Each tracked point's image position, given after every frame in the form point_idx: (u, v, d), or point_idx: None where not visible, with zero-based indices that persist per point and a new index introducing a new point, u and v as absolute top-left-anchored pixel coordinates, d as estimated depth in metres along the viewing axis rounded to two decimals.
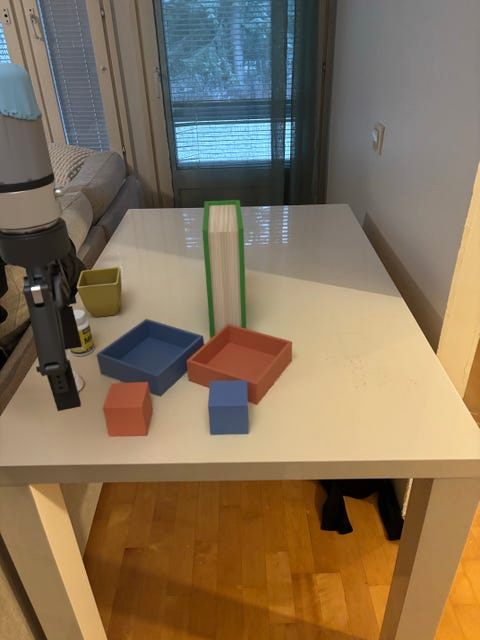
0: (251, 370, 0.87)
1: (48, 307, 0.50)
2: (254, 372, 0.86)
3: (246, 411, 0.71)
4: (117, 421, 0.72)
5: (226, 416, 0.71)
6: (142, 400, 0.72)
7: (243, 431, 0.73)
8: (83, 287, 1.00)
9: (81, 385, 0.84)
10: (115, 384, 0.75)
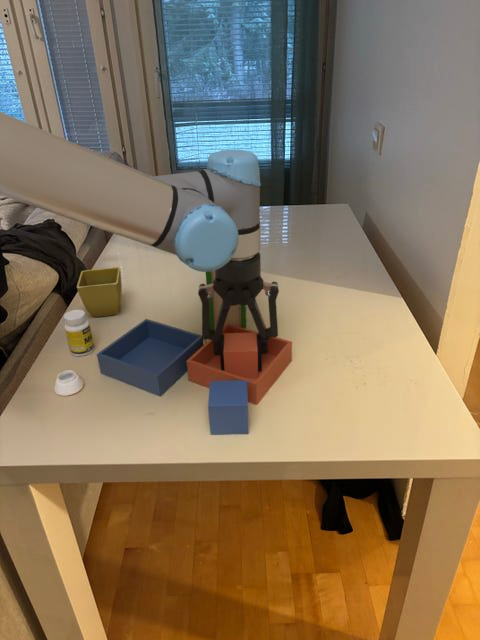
0: None
1: None
2: None
3: (246, 411, 0.71)
4: (234, 364, 0.83)
5: (226, 416, 0.71)
6: (256, 346, 0.83)
7: (243, 431, 0.73)
8: (83, 287, 1.00)
9: (81, 385, 0.84)
10: (228, 334, 0.86)
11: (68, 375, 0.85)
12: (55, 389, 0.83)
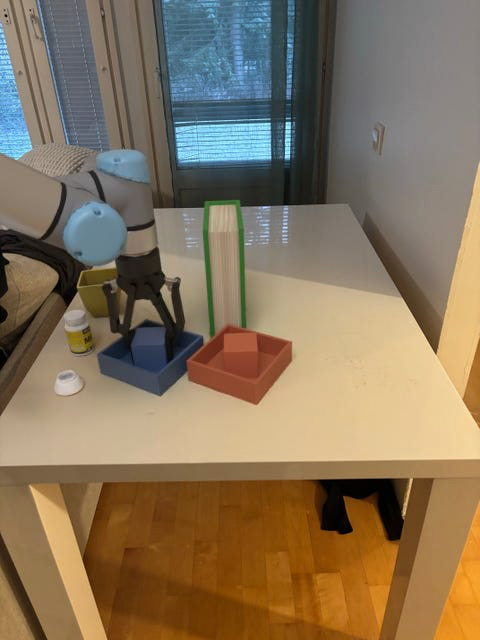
0: None
1: (179, 291, 0.83)
2: None
3: (163, 350, 0.85)
4: (234, 365, 0.83)
5: (147, 354, 0.85)
6: (256, 346, 0.83)
7: None
8: (83, 287, 1.00)
9: (81, 385, 0.84)
10: (227, 334, 0.86)
11: (68, 375, 0.85)
12: (55, 389, 0.83)
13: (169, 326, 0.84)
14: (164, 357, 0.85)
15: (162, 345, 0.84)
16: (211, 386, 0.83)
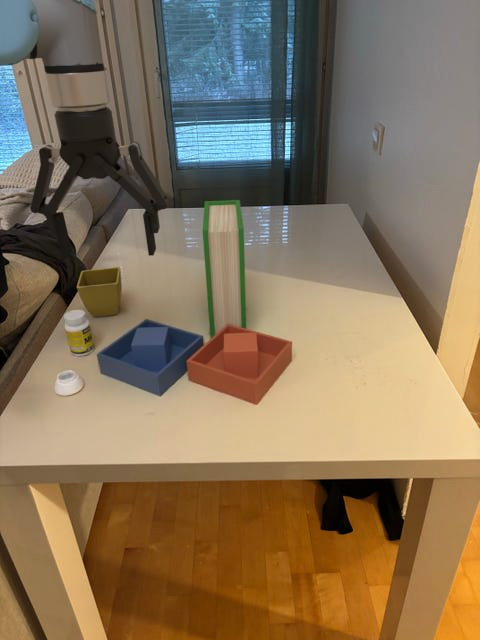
0: None
1: (143, 159, 0.67)
2: None
3: (163, 350, 0.85)
4: (234, 365, 0.83)
5: (147, 354, 0.85)
6: (256, 346, 0.83)
7: None
8: (83, 287, 1.00)
9: (81, 385, 0.84)
10: (227, 334, 0.86)
11: (68, 375, 0.85)
12: (55, 389, 0.83)
13: (146, 203, 0.69)
14: (164, 357, 0.85)
15: (162, 345, 0.84)
16: (211, 386, 0.83)
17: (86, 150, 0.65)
